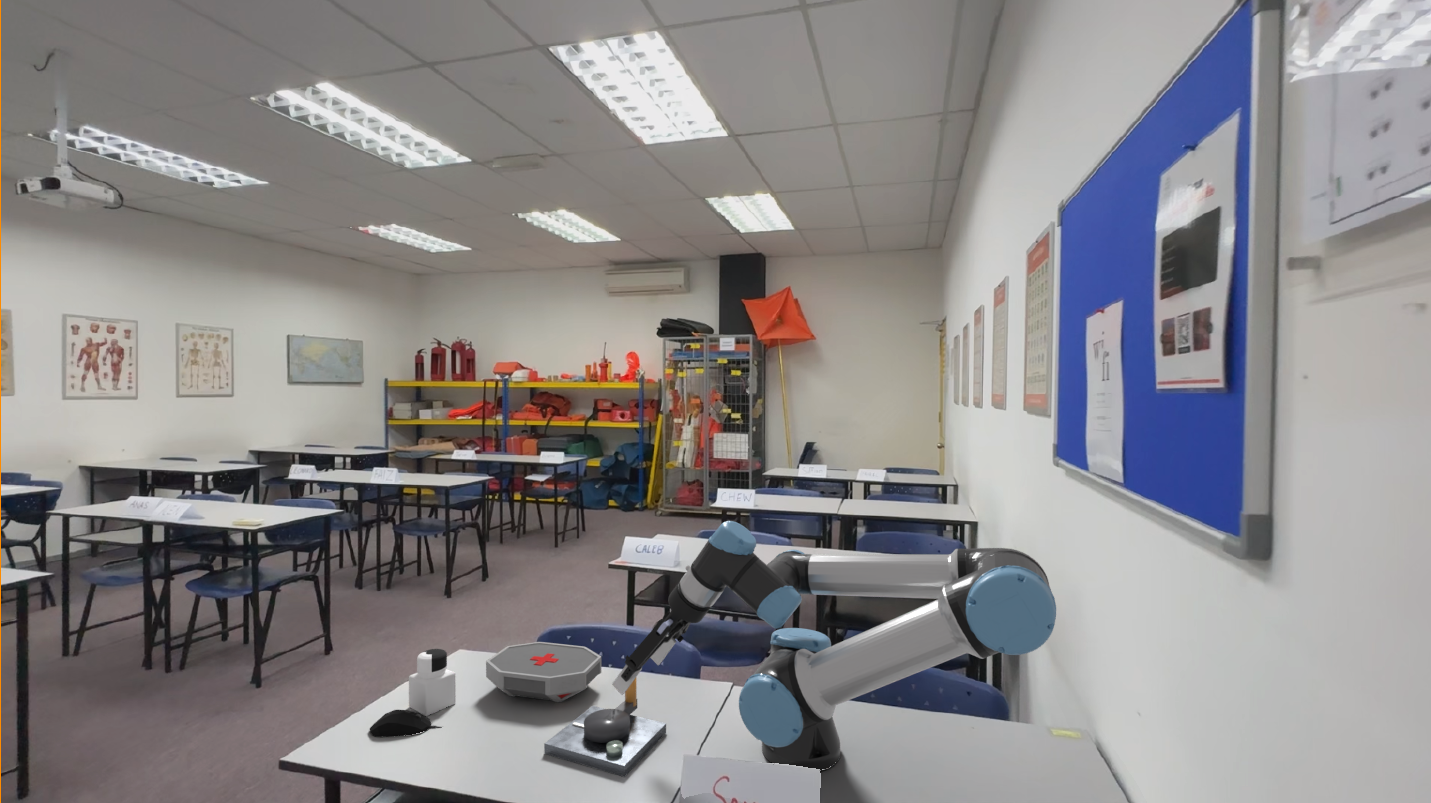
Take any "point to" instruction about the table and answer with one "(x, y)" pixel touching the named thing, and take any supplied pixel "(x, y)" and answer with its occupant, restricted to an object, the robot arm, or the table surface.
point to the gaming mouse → (400, 724)
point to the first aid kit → (543, 670)
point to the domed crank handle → (612, 719)
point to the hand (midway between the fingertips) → (636, 673)
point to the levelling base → (606, 744)
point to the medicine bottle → (432, 683)
